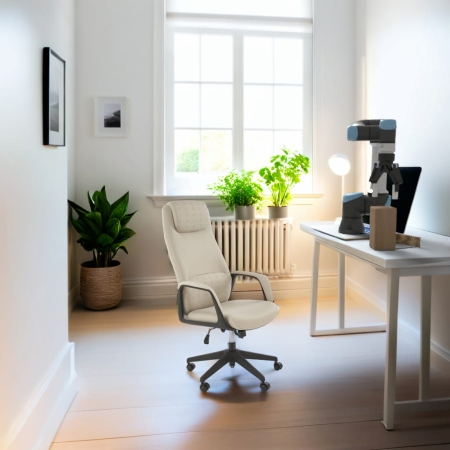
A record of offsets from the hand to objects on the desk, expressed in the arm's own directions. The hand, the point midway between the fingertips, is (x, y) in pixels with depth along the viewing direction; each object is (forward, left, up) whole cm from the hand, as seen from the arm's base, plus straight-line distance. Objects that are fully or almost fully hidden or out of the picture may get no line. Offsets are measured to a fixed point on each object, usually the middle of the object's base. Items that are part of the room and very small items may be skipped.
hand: (384, 198), depth 237 cm
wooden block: (0, 0, -25) cm, 25 cm away
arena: (-3, +13, -25) cm, 28 cm away
